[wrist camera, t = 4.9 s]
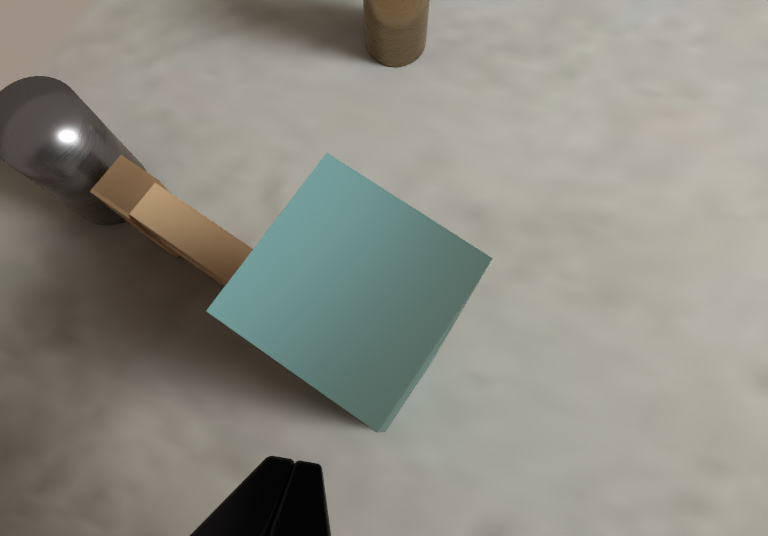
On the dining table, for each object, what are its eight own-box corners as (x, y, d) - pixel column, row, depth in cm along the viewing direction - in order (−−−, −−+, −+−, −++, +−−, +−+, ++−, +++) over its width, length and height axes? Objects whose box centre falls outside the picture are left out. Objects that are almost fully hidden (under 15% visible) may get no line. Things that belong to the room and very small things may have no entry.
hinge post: (129, 235, 19) (54, 178, 15) (59, 210, 20) (-35, 147, 15) (161, 166, 20) (97, 92, 16) (93, 143, 20) (11, 64, 16)
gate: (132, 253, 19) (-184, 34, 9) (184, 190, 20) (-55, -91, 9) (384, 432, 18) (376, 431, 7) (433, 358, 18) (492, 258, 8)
